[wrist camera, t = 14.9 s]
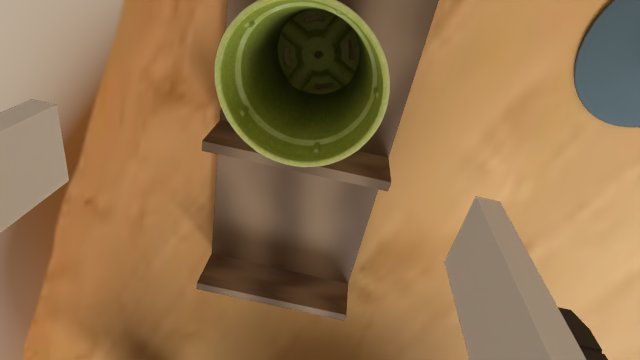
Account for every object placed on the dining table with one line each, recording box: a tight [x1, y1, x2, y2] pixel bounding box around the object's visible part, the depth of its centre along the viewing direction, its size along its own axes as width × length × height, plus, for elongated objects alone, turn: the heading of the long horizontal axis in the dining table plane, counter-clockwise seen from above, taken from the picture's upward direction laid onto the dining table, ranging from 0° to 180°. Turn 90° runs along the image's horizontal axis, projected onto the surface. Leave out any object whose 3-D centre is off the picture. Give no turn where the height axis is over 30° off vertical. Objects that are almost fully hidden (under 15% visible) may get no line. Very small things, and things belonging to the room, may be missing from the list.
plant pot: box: [214, 0, 390, 167], centre depth 24 cm, size 9×9×9 cm
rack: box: [197, 0, 439, 321], centre depth 31 cm, size 14×30×5 cm, turn 169°
